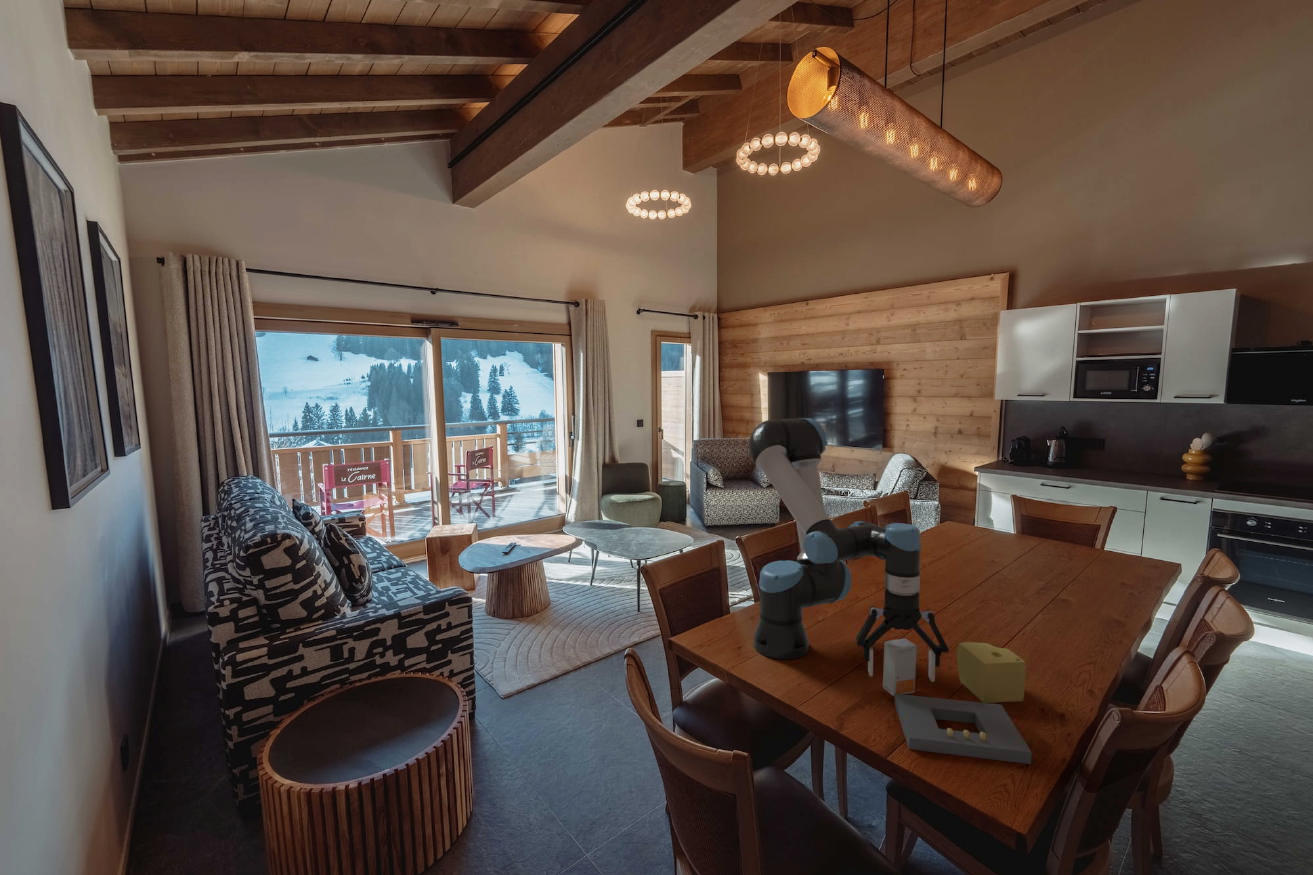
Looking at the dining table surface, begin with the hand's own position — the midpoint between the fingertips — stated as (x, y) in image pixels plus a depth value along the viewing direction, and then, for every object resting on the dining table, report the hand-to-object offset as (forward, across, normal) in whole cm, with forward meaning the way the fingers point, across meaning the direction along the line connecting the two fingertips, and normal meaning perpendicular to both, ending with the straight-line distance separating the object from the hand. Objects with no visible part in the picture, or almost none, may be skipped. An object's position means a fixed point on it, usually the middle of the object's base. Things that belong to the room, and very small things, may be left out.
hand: (900, 676), depth 134 cm
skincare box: (+4, 0, 0) cm, 4 cm away
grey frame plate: (+4, +9, -14) cm, 17 cm away
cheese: (+4, +21, +4) cm, 22 cm away
